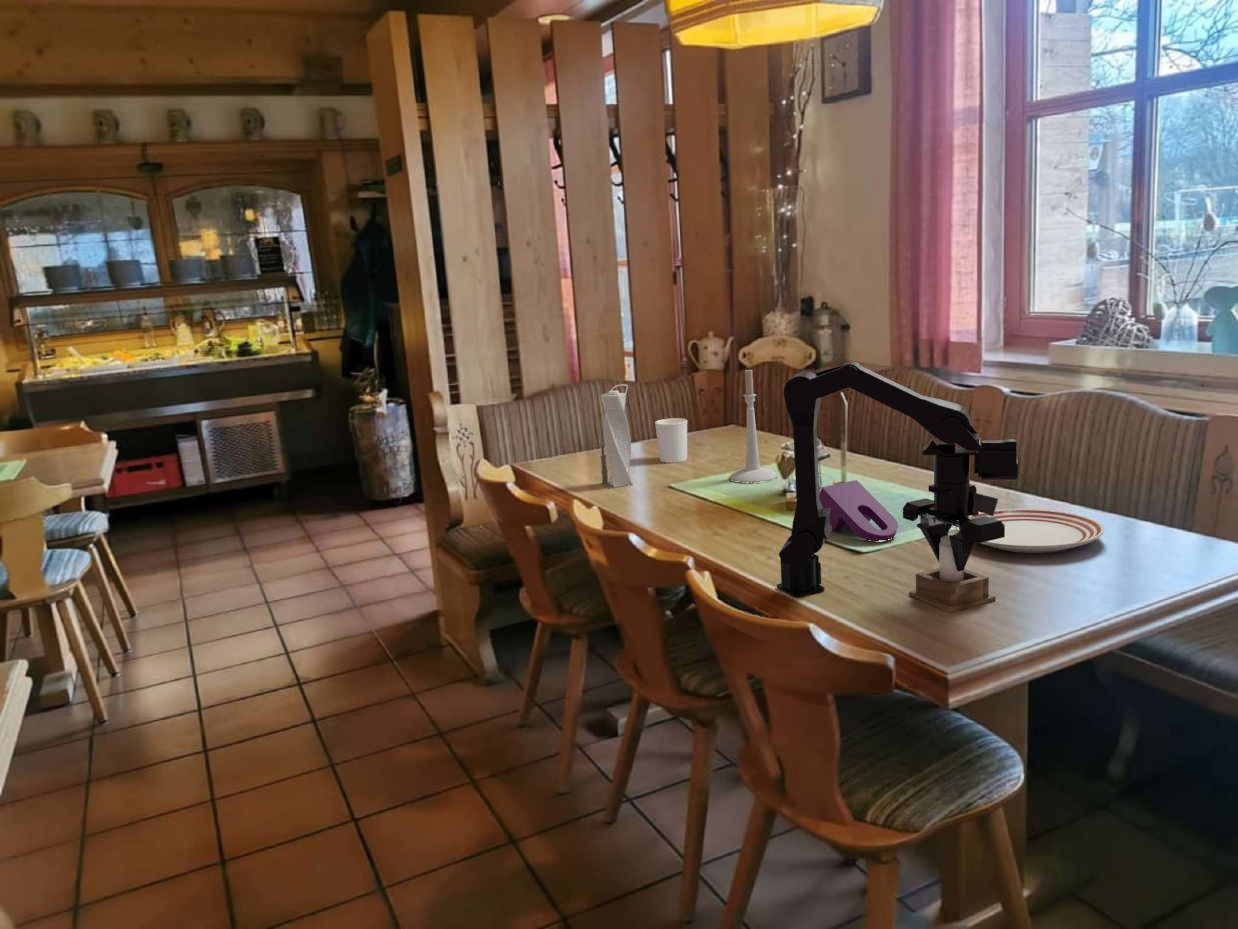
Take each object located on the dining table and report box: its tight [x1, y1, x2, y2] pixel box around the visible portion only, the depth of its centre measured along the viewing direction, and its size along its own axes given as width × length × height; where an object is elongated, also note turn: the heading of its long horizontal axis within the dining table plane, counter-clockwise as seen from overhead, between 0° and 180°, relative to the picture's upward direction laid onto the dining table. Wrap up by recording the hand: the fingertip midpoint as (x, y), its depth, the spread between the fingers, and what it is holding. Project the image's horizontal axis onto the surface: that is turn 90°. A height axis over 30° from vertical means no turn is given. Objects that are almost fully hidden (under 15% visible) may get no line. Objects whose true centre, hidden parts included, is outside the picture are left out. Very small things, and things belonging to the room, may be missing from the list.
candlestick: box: [729, 368, 778, 483], centre depth 254 cm, size 13×13×30 cm
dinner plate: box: [955, 508, 1105, 554], centre depth 190 cm, size 27×27×3 cm
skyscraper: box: [600, 383, 634, 489], centre depth 258 cm, size 8×8×28 cm
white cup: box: [654, 417, 688, 464], centre depth 285 cm, size 10×10×12 cm
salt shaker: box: [938, 534, 964, 584], centre depth 162 cm, size 4×4×8 cm
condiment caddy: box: [908, 567, 997, 613], centre depth 163 cm, size 10×10×4 cm
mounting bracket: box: [819, 479, 899, 542], centre depth 204 cm, size 9×8×18 cm
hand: (951, 567), depth 162 cm, fingers closed on salt shaker, 4 cm apart
